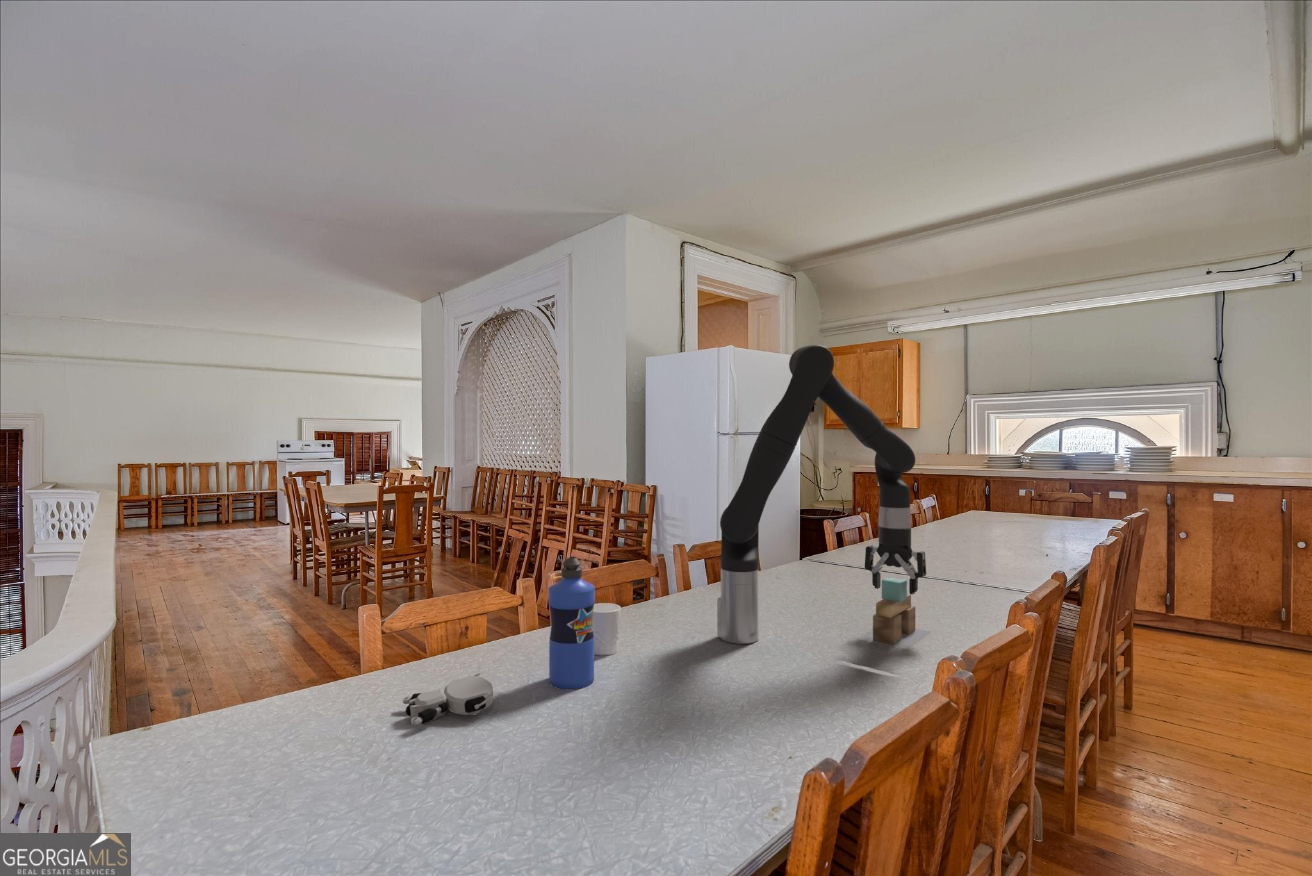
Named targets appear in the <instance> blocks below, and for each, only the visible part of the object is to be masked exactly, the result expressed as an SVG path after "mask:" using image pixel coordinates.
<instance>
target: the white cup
mask: <svg viewBox="0 0 1312 876" xmlns="http://www.w3.org/2000/svg"><path fill="white" fill-rule="evenodd" d="M621 614H622V607H621V606H620V605H618V604H616V603H610V602H607V603H606V602H604V603H603V602H600V603H594V608H593V617H592V627H593V635H594V656H596V655H597V656H610V655H613V654H616V653H618V652H619V648H620V646H619V645H620V632H621Z"/></svg>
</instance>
